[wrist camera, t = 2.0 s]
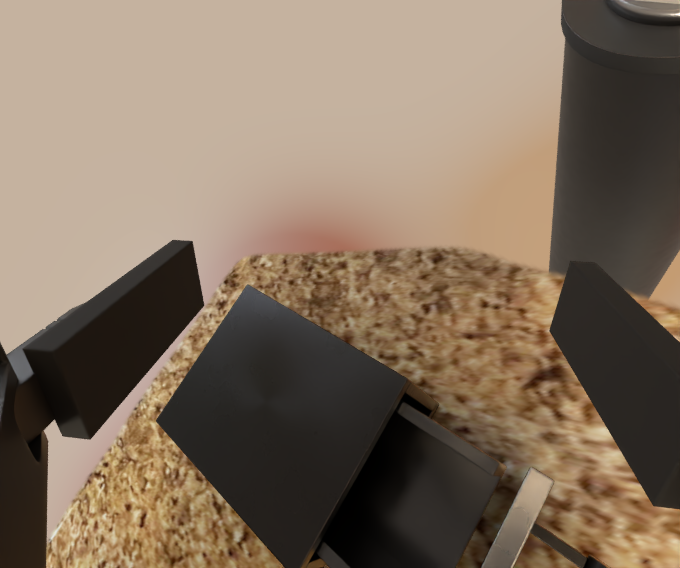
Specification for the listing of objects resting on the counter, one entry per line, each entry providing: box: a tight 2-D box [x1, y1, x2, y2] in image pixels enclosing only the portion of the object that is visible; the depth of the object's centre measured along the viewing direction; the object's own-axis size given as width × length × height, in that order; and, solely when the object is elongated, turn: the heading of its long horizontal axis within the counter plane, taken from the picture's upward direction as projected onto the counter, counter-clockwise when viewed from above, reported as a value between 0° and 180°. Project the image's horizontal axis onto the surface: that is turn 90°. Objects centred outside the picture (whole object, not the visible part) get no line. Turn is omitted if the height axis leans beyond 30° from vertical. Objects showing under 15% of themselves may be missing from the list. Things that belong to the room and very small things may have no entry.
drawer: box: [315, 400, 611, 568], centre depth 25 cm, size 19×11×8 cm, turn 56°
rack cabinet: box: [156, 285, 439, 568], centre depth 31 cm, size 16×13×10 cm
